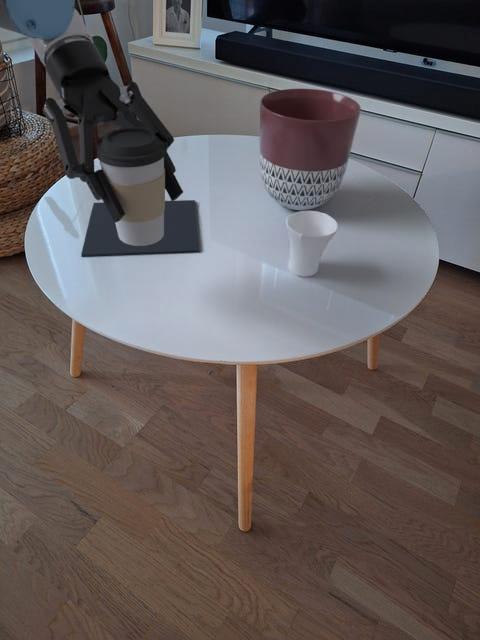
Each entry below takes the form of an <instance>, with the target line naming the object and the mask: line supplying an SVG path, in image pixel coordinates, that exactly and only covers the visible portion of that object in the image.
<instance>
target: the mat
mask: <svg viewBox="0 0 480 640" xmlns="http://www.w3.org/2000/svg"><path fill="white" fill-rule="evenodd" d="M197 218H198V217H197V209H196V200H195V199H187V200H184V199H183V200H181V199H179V200H174V201H172V200H165V211H164V236H163V237H162V239H161V240H159V241H158V242H156V243H154V244H151V245H146V246H133V245H129V244H126V243H124V242H122V241H121V240H120V238H119V236H118V232H117V228H116V224H115V222H114V220H113V219H112V217H111V215H110V213H109V211H108V209H107V208H106V206H105V204H104V202H103V201H102V202H93V204H92V208H91V211H90V216H89V221H88V225H87V229H86V232H85V238H84V241H83V246H82V249H81V254H80V256H81V257H83V258H85V257H87V258H88V257H111V256H112V257H113V256H138V255H164V254H165V255H166V254H188V253H189V254H190V253H191V254H192V253H193V254H194V253H200V252H201V251H200V241H199V240H200V238H199V228H198V227H199V226H198V219H197Z"/></svg>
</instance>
